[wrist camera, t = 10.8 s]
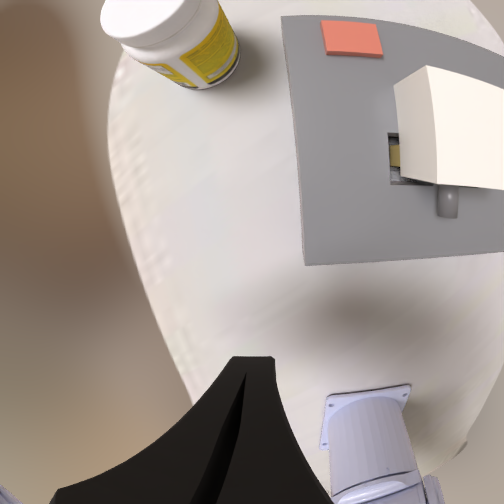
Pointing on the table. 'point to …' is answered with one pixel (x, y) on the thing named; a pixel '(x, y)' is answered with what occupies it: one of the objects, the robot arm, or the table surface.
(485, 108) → the plug
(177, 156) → the table surface
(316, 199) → the socket
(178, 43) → the supplement bottle
